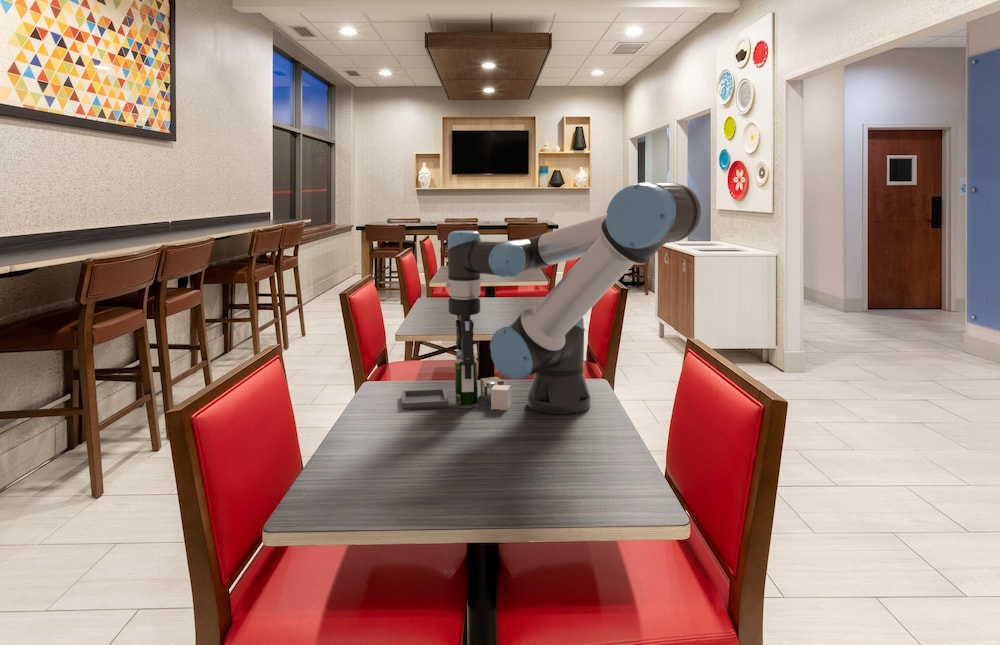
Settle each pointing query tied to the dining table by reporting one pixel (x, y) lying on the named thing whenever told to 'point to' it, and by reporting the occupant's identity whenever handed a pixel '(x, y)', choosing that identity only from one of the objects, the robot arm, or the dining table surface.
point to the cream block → (501, 397)
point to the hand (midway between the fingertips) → (465, 383)
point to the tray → (424, 399)
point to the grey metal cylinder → (488, 390)
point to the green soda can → (461, 397)
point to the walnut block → (500, 382)
